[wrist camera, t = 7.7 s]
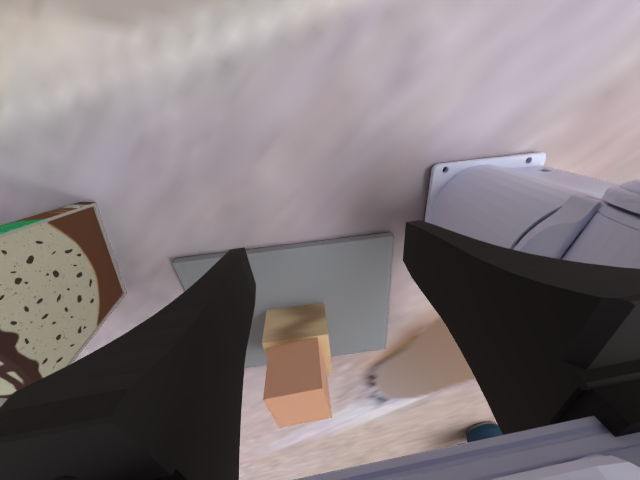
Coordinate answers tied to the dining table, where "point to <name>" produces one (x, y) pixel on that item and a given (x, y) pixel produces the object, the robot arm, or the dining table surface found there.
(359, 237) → the slate board
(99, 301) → the food container
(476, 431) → the soda can
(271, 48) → the dining table surface
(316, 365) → the terracotta block
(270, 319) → the oak base block
